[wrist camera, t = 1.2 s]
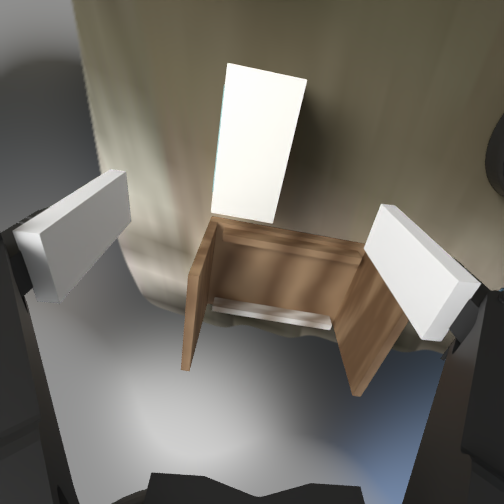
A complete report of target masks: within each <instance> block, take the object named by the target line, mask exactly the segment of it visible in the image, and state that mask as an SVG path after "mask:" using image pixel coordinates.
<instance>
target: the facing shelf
mask: <svg viewBox="0 0 504 504" xmlns="http://www.w3.org/2000/svg"><path fill="white" fill-rule="evenodd" d="M364 247H365V244H363V243H358V242H352V241H347V240H341V239H335V238H330V237H324V236H319V235H313V234H308V233H302V232H297V231H291V230H286V229H280V228H275V227H269V226H263V225H258V224H252V223H247V222H241V221H236V220H230V219H225V218H219V217H214V216H212V217H211V219H210V222H209V224H208V227H207V229H206V232H205V234H204V237H203V239H202V242H201V244H200V247H199V249H198V252H197V254H196V257H195V259H194V262H193V264H192V267H191V269H190V272H189V274H188V285H187V298H186V311H185V325H184V338H183V350H182V363H181V370H185V371H190V367H191V363H192V359H193V356H194V352H195V348H196V344H197V340H198V337H199V333H200V329H201V325H202V321H203V318H204V314H205V310H206V306H207V303H208V304H213V307H212V311H215V312H221V313H227V314H234V315H240V316H246V317H252V318H258V319H265V320H271V321H277V322H283V323H289V324H295V325H302V326H308V327H314V328H320V329H326V330H330V329H331V326H332V324H333V327H334V331H335V334H336V338H337V342H338V345H339V349H340V352H341V356H342V360H343V363H344V367H345V370H346V374H347V377H348V381H349V385H350V388H351V392H352V395H354V396H361V395H362V393H363V392H364V390H365V389H366V387H367V386H368V384H369V382H370V381H371V379H372V378H373V376H374V375H375V373H376V371H377V370H378V368H379V367H380V365H381V364H382V362H383V360H384V359H385V357H386V356H387V354H388V353H389V351H390V349H391V348H392V346H393V345H394V343H395V342H396V340H397V339H398V337H399V335H400V334H401V332H402V331H403V329H404V328H405V326H406V324H407V323H408V321H409V319H408V317H407V316H406V314H405V313H404V311H403V310H402V308H401V306H400V305H399V303H398V302H397V300H396V299H395V297H394V295H393V294H392V292H391V291H390V289H389V288H388V286H387V284H386V283H385V281H384V280H383V278H382V277H381V275H380V273H379V272H378V270H377V269H376V267H375V266H374V264H373V262H372V261H371V259H370V258H369V256H368V255H367V253H366V251H365V250H364Z"/></svg>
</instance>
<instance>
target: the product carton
mask: <svg viewBox="0 0 504 504" xmlns="http://www.w3.org/2000/svg"><path fill="white" fill-rule="evenodd" d="M306 82H307V80H306V79H301V78H297V77H292V76H287V75H282V74H278V73H273V72H268V71H263V70H259V69H254V68H249V67H245V66H240V65H235V64H230V63H227V72H226V81H225V85H224V91H223V100H222V110H221V119H220V128H219V137H218V146H217V155H216V164H215V173H214V182H213V191H212V192H213V198H212V207H211V212H212V213H217V214H223V215H228V216H234V217H239V218H245V219H250V220H256V221H261V222H267V223H272V224H273V220H274V216H275V212H276V208H277V204H278V200H279V195H280V191H281V187H282V183H283V179H284V174H285V170H286V166H287V162H288V158H289V154H290V149H291V145H292V141H293V137H294V133H295V128H296V124H297V120H298V116H299V112H300V108H301V103H302V99H303V95H304V91H305V87H306Z"/></svg>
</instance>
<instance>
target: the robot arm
mask: <svg viewBox="0 0 504 504" xmlns="http://www.w3.org/2000/svg"><path fill="white" fill-rule="evenodd" d="M485 165H486V173H487V177H488V179H489V182H490V183H491V185H492V186H493V188H494V189H495V190H496V191H497V192H498V193H499V194H501V195H502V196H504V114H503V115H502V117H501V118H500V120H499V122H498V123H497V125H496V127H495V129H494V131H493V133H492V135H491V138H490V141H489V144H488V147H487V152H486V160H485ZM130 222H131V214H130V204H129V195H128V185H127V176H126V171H120V170H112V169H110V170H108V171H107V172H105V173H104V174H102V175H100V176H99V177H98V178H96V179H94V180H93V181H91V182H90V183H88V184H86V185H84V186H83V187H81V188H80V189H78V190H77V191H75V192H73V193H72V194H70V195H69V196H67V197H65V198H64V199H62V200H61V201H59V202H57V203H56V204H54V205H53V206H51V207H47V208H44V209H42V210H38V211H36V212H34V213H33V214H31V215H29V216H28V217H27V218H24V219H23V220H21V221H20V222H19V223H16V224H15V225H13V226H11V227H10V228H8V229H6V230H5V231H3V232H1V233H0V504H79V501H78V498H77V495H76V492H75V489H74V486H73V482H72V479H71V474H70V470H69V466H68V462H67V458H66V454H65V451H64V447H63V443H62V439H61V435H60V431H59V427H58V423H57V419H56V415H55V412H54V408H53V403H52V399H51V395H50V391H49V388H48V383H47V380H46V376H45V372H44V368H43V364H42V360H41V356H40V352H39V348H38V344H37V340H36V336H35V333H34V329H33V324H32V320H31V316H30V313H29V309H28V305H27V302H26V299H25V297H24V295H25V294H26V293H27V292H29V291H30V289H32V288H33V290H34V293H35V296H36V299H37V301H40V302H50V303H61V302H62V301H63V300H64V298H65V297H66V296H67V295H68V293H70V291H71V290H72V289H73V288H74V287H75V286H76V284H77V283H78V282H79V281H80V280H81V279H82V278H83V276H84V275H85V274H86V273H87V272H88V271H89V270H90V268H91V267H92V266H93V265H94V264H95V263H96V261H97V260H98V259H99V258H100V257H101V256H102V254H103V253H104V252H105V251H106V250H107V249H108V248H109V246H110V245H111V244H112V243H113V242H114V241H115V240H116V238H117V237H118V236H119V235H120V234H121V233H122V231H123V230H124V229H125V228H126V227H127V226H128V225H129V223H130ZM364 250H365V251H366V253H367V255H368V256H369V258H370V259H371V261H372V262H373V264H374V266H375V267H376V269H377V270H378V272H379V273H380V275H381V277H382V278H383V280H384V281H385V283H386V284H387V286H388V288H389V289H390V291H391V292H392V294H393V295H394V297H395V299H396V300H397V302H398V303H399V305H400V306H401V308H402V310H403V311H404V313H405V314H406V316H407V317H408V319H409V320H410V322H411V324H412V325H413V327H414V328H415V330H416V331H417V333H418V335H419V336H420V338H421V339H422V340H432V341H442V339H443V338H444V336H445V335H446V334H447V332H448V331H449V329H450V331H451V332H452V333H453V334H454V336H455V337H456V338H455V339H454V341H453V342H452V343H451V345H450V346H449V347H448V349H447V350H446V352H445V353H444V354H443V356H442V357H441V359H442V360H444V359H446V361H445V364H444V368H443V371H442V374H441V378H440V381H439V384H438V387H437V390H436V394H435V397H434V401H433V404H432V407H431V410H430V414H429V417H428V420H427V423H426V427H425V430H424V433H423V437H422V440H421V443H420V447H419V450H418V453H417V456H416V460H415V463H414V466H413V470H412V473H411V476H410V480H409V483H408V486H407V490H406V493H405V496H404V500H403V502H402V504H504V288H501V289H500V290H499V291H496V290H494V291H491V290H489V289H488V288H487V287H486V286H485V285H484V284H483V283H482V282H481V281H479V280H478V279H477V278H476V277H475V276H474V275H473V274H471V272H470V271H468V270H467V269H466V268H464V266H463V265H462V264H461V263H460V262H458V261H457V260H456V259H455V258H453V257H451V256H450V255H449V254H448V253H447V252H446V251H445V250H444V249H442V248H441V247H440V246H439V245H438V244H437V243H436V242H435V241H434V240H433V239H431V238H430V237H429V236H428V235H427V234H426V233H425V232H424V231H423V230H422V229H420V228H419V227H418V226H417V225H416V224H415V223H414V222H413V221H412V220H411V219H409V218H408V217H407V216H406V215H405V214H404V213H403V212H402V211H401V210H400V209H398V208H397V207H396V206H395V205H387V204H381V206H380V208H379V211H378V213H377V216H376V218H375V221H374V223H373V226H372V229H371V231H370V234H369V236H368V239H367V241H366V244H365V247H364ZM112 504H365V503H364V499H363V495H362V492H361V487H359V486H344V485H329V484H314V483H310V484H306V485H303V486H300V487H296V488H292V489H289V490H285V491H281V492H278V493H274V494H271V495H267V496H263V497H255V496H252V495H250V494H247V493H245V492H242V491H240V490H237V489H235V488H232V487H230V486H227V485H225V484H223V483H220V482H218V481H215V480H212V479H210V478H208V477H205V476H195V475H180V474H165V473H164V474H163V473H151V476H150V480H149V484H148V488H147V489H145V490H142V491H138V492H136V493H133V494H131V495H128V496H126V497H123V498H122V499H120V500H118V501H116V502H114V503H112Z"/></svg>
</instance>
